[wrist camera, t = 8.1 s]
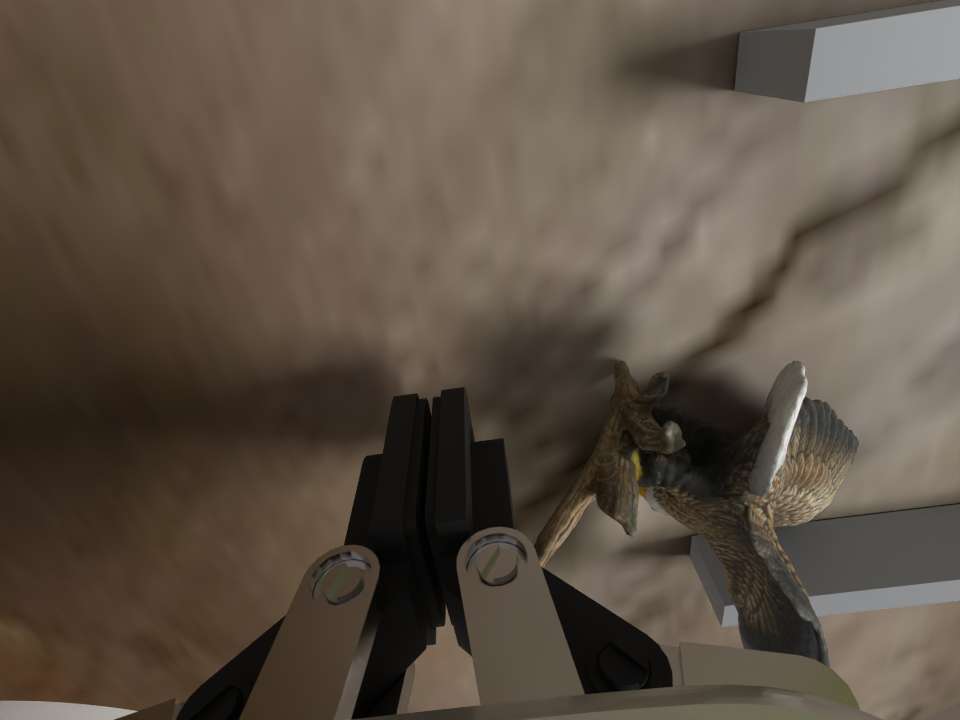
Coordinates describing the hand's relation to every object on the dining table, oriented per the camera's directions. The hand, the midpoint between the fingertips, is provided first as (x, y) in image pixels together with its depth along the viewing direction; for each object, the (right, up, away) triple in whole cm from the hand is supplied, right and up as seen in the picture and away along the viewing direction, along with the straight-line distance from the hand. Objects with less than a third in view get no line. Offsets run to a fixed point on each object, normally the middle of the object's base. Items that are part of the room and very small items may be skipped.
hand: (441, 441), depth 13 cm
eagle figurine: (+7, 0, +3) cm, 8 cm away
